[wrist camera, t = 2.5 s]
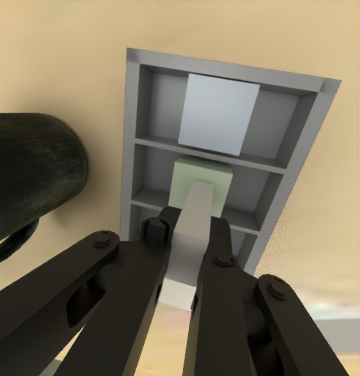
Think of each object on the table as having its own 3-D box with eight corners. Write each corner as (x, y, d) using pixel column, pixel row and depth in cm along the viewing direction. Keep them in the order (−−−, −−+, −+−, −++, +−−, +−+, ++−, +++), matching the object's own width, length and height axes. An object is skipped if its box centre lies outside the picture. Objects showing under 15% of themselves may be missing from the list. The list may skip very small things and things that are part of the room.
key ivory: (159, 281, 22) (152, 299, 20) (163, 254, 21) (157, 271, 19) (194, 292, 22) (191, 311, 20) (201, 265, 20) (200, 283, 18)
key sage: (173, 199, 18) (167, 211, 16) (180, 155, 16) (175, 161, 14) (218, 209, 17) (218, 223, 15) (231, 165, 16) (233, 174, 13)
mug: (95, 121, 19) (-64, 133, 8) (92, 230, 25) (-2, 320, 14) (5, 98, 20) (-243, 81, 9) (23, 209, 26) (-115, 277, 15)
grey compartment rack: (131, 261, 26) (117, 285, 22) (147, 62, 16) (126, 47, 13) (230, 289, 24) (232, 319, 21) (311, 88, 15) (342, 80, 11)
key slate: (183, 139, 15) (178, 143, 13) (193, 79, 14) (189, 73, 11) (235, 149, 15) (238, 155, 13) (253, 89, 13) (260, 85, 11)
